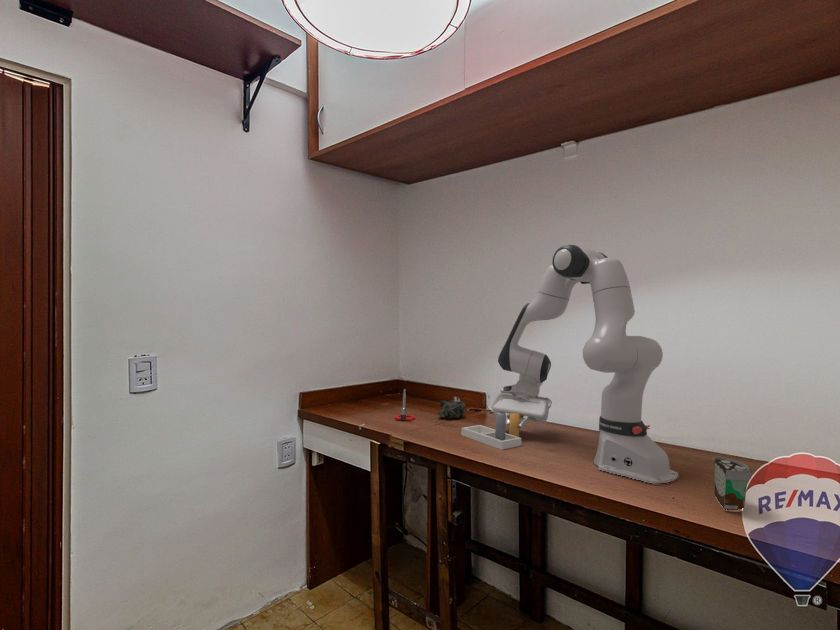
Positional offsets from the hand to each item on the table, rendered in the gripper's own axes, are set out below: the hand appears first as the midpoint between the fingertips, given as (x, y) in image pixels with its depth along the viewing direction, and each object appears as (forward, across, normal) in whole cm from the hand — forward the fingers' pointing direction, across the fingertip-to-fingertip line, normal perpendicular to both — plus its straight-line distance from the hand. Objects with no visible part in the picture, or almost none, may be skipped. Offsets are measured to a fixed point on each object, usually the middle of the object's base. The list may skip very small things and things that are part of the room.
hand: (513, 426), depth 156 cm
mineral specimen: (-9, +37, -17) cm, 42 cm away
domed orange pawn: (+3, 0, -4) cm, 5 cm away
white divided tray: (+8, +6, +1) cm, 10 cm away
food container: (+15, -63, +7) cm, 65 cm away
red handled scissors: (+2, +49, -6) cm, 50 cm away
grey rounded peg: (+9, +1, +2) cm, 9 cm away
